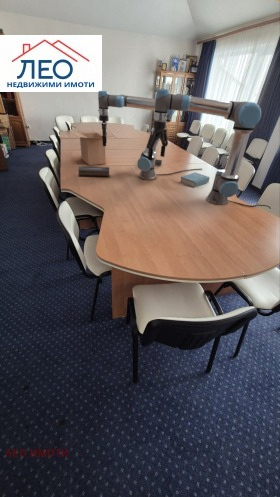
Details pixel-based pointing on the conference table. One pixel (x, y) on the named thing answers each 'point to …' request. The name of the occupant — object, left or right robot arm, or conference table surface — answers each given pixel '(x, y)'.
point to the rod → (93, 171)
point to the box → (92, 147)
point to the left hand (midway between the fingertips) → (104, 144)
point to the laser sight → (158, 162)
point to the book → (194, 179)
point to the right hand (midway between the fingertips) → (156, 158)
